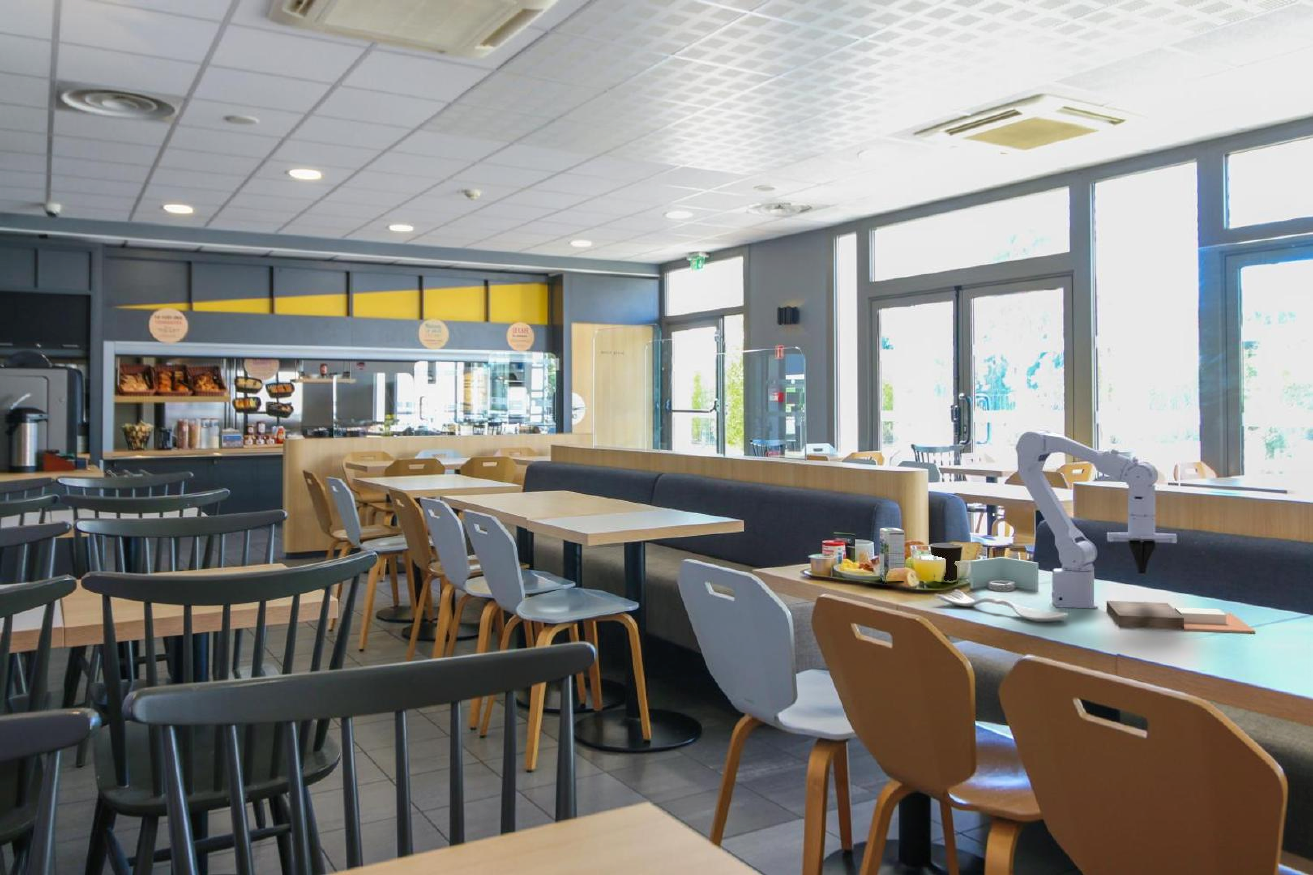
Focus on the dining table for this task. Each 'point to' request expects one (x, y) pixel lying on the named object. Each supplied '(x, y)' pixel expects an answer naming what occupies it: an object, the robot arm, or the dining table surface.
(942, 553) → the coffee mug
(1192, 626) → the mat
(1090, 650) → the dining table surface
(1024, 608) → the fork
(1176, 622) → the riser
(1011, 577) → the right angle wall
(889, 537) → the syrup box
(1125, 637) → the dining table surface
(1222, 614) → the tile
